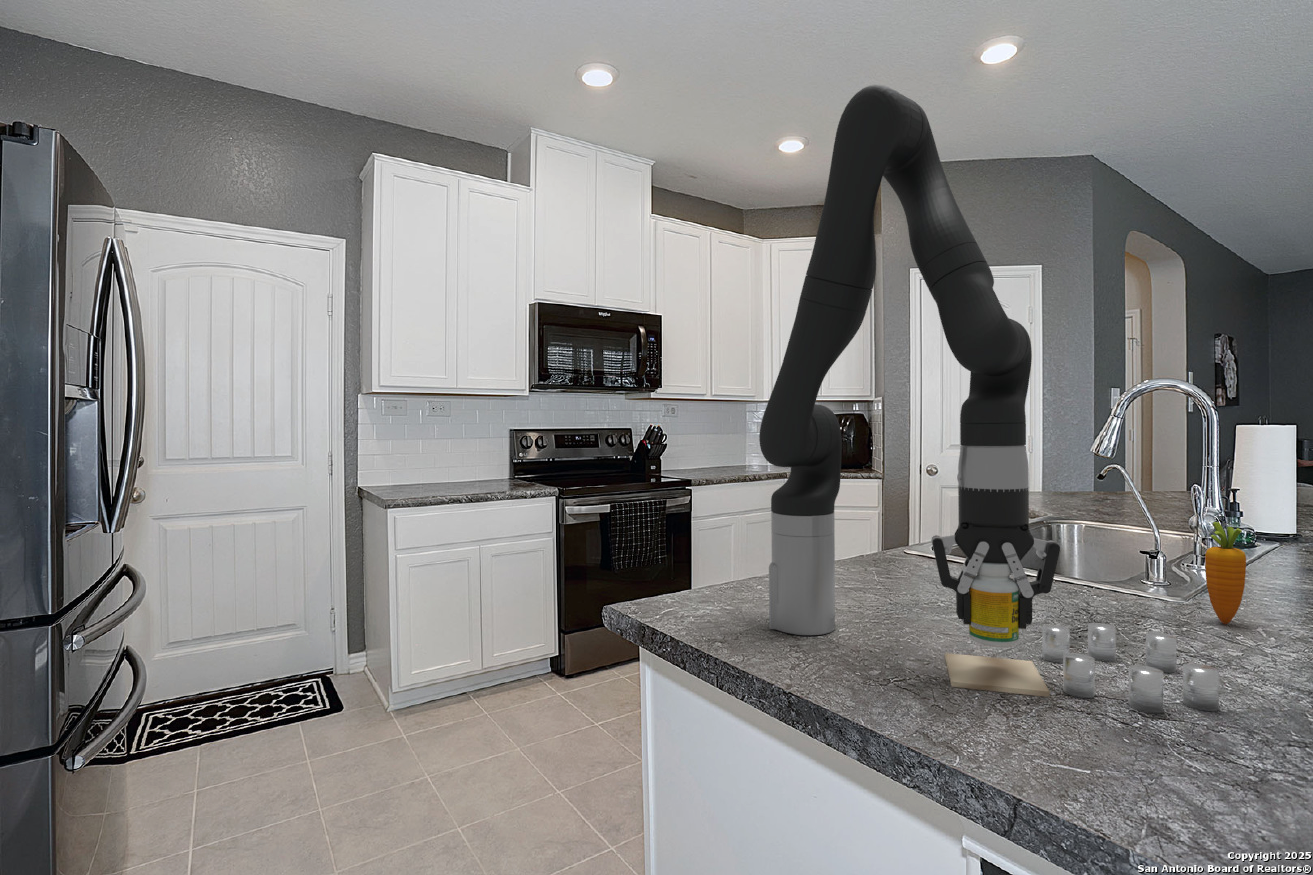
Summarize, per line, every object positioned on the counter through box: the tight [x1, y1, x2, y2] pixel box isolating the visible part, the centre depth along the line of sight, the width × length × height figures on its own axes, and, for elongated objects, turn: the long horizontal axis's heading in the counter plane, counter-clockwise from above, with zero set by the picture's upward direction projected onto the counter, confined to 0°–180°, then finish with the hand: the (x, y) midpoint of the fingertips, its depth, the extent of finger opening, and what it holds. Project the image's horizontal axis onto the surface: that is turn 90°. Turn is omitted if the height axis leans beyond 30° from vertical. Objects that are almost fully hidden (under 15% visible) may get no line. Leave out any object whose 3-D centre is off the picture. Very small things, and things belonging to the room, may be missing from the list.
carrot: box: [1204, 521, 1247, 626], centre depth 100 cm, size 5×5×15 cm
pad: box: [944, 652, 1051, 698], centre depth 81 cm, size 10×10×1 cm
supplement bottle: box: [968, 563, 1020, 648], centre depth 81 cm, size 5×5×10 cm
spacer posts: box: [1041, 622, 1220, 714], centre depth 80 cm, size 14×19×4 cm
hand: (993, 624), depth 81 cm, fingers closed on supplement bottle, 5 cm apart
